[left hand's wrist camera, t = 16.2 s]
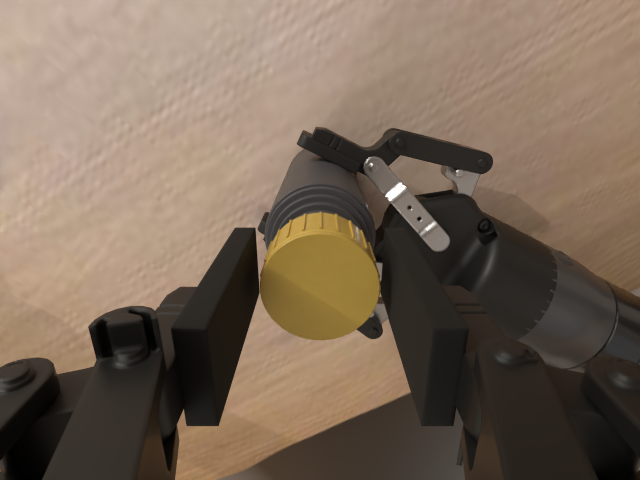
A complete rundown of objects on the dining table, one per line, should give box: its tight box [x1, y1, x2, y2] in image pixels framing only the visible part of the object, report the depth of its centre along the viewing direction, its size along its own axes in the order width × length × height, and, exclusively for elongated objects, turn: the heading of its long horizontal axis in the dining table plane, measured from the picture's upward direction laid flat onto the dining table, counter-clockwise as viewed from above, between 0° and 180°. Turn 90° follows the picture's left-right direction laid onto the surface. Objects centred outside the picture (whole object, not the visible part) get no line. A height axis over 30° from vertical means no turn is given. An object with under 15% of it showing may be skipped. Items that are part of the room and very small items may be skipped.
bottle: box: [265, 149, 376, 251], centre depth 21 cm, size 5×5×17 cm
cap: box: [260, 212, 380, 340], centre depth 13 cm, size 4×4×2 cm
